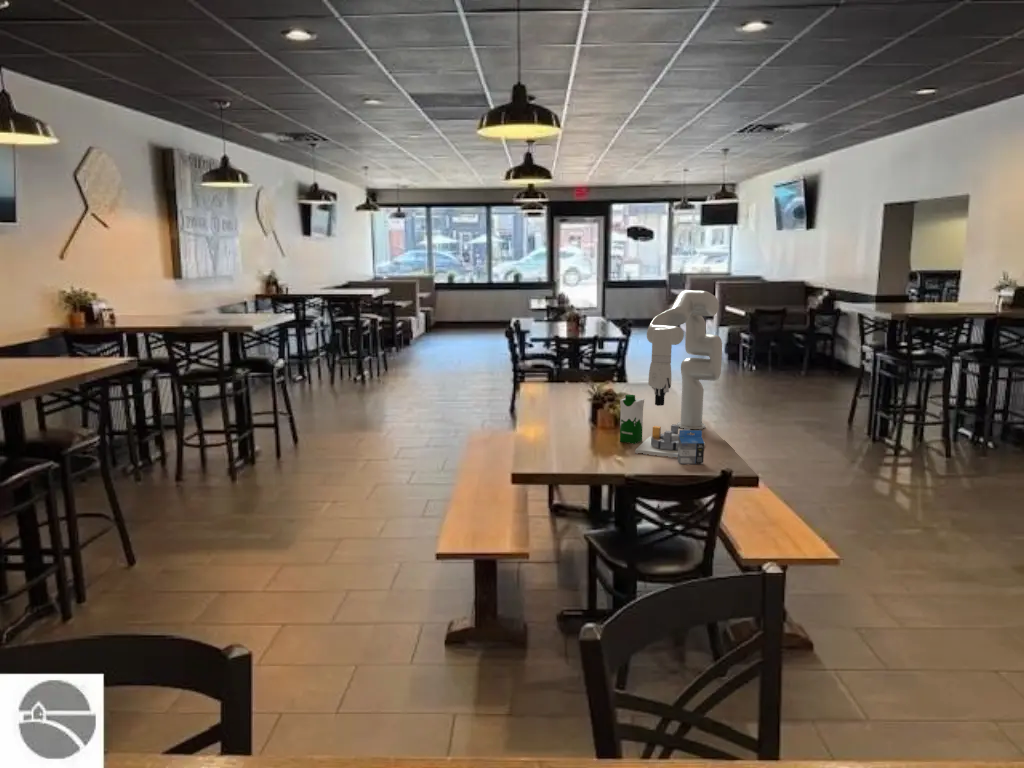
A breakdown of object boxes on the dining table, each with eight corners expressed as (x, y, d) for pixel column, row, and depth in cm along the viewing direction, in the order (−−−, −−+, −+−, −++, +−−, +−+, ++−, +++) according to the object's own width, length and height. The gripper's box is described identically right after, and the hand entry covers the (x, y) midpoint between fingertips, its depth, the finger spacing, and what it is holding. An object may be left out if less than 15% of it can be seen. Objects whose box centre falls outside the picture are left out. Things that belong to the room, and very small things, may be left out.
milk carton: (616, 441, 308) (618, 395, 304) (626, 437, 315) (627, 391, 311) (636, 445, 303) (637, 397, 299) (645, 440, 310) (646, 394, 306)
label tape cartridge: (679, 464, 275) (681, 432, 273) (677, 461, 279) (678, 430, 277) (703, 464, 275) (705, 432, 273) (700, 461, 279) (702, 430, 277)
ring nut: (656, 439, 306) (657, 422, 304) (693, 442, 299) (694, 426, 298) (647, 447, 292) (648, 430, 291) (685, 451, 286) (686, 434, 285)
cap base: (649, 439, 311) (650, 425, 310) (704, 445, 302) (705, 431, 301) (635, 453, 290) (635, 438, 289) (693, 460, 281) (694, 444, 280)
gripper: (643, 357, 293) (641, 402, 296) (663, 362, 279) (661, 409, 282) (659, 356, 295) (657, 401, 299) (680, 361, 282) (678, 408, 285)
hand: (659, 405), depth 290 cm, fingers closed
